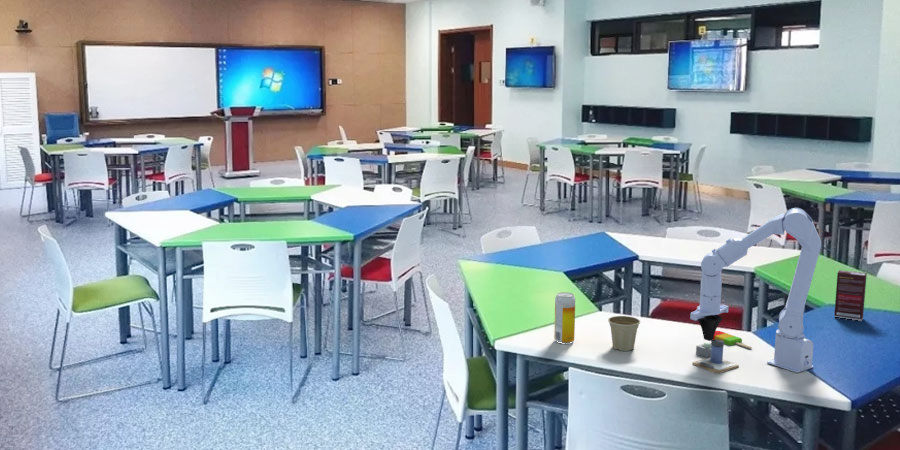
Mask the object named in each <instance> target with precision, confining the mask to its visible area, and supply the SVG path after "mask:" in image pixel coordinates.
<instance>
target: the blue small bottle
mask: <svg viewBox="0 0 900 450" xmlns="http://www.w3.org/2000/svg"><path fill="white" fill-rule="evenodd" d="M710 343H711V359H710V362H712V363H715V364H721V363H722V359H723V357H724V354H723V353H724V346H725V344H724V341H722V340H716V339H715V340H711V341H710ZM723 360H724V359H723Z"/></svg>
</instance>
